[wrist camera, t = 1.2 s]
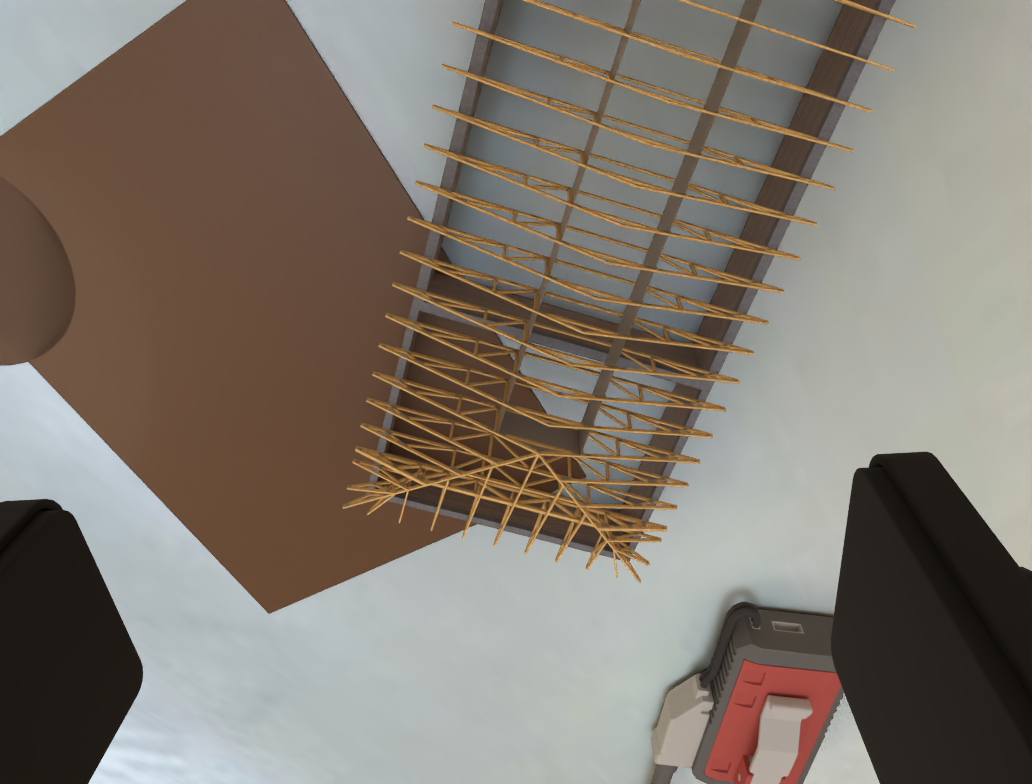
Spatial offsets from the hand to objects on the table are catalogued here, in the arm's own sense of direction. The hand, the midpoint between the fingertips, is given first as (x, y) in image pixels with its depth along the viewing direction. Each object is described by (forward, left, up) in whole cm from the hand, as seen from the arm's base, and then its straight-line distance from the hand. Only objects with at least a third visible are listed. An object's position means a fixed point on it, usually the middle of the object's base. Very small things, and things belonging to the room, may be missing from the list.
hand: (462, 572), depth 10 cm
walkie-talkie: (+6, +35, -25) cm, 43 cm away
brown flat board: (+17, +1, -25) cm, 30 cm away
